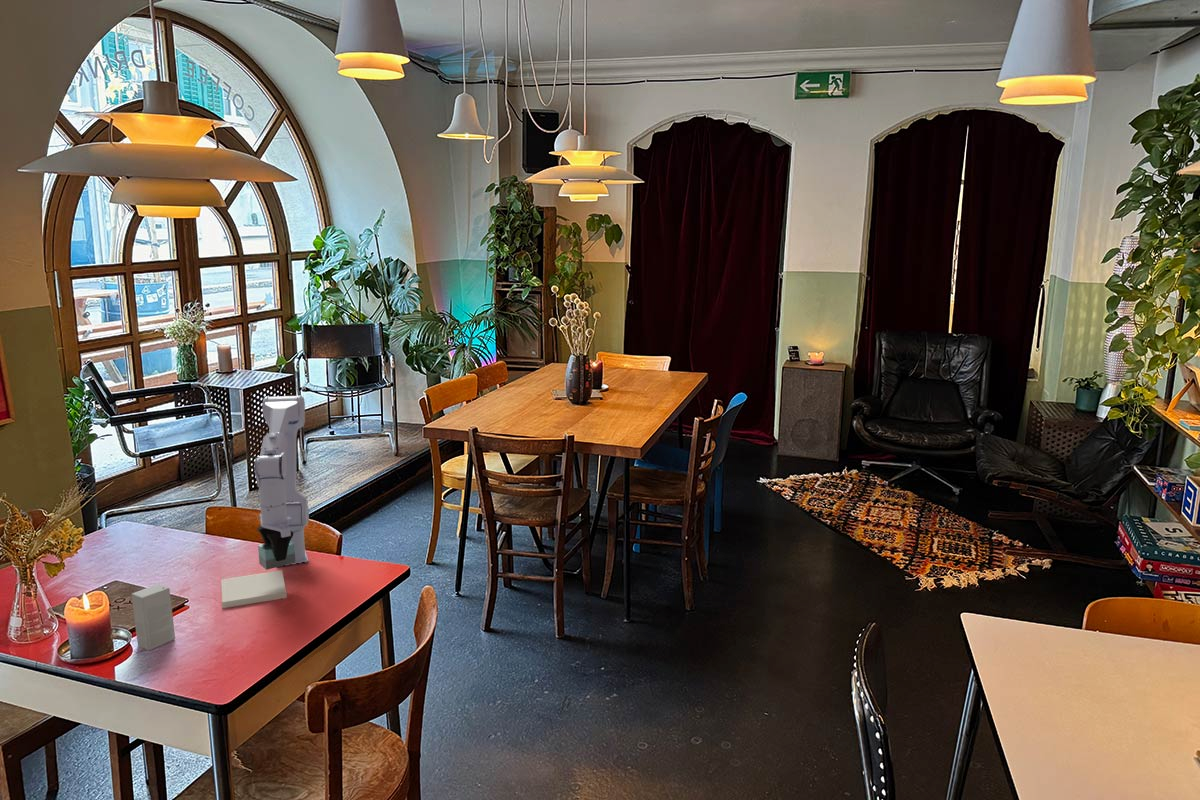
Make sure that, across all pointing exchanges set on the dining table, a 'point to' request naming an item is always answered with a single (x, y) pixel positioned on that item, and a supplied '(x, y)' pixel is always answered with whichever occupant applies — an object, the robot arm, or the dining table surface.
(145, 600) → the skincare box
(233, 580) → the stand tile
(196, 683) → the dining table surface
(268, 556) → the block
